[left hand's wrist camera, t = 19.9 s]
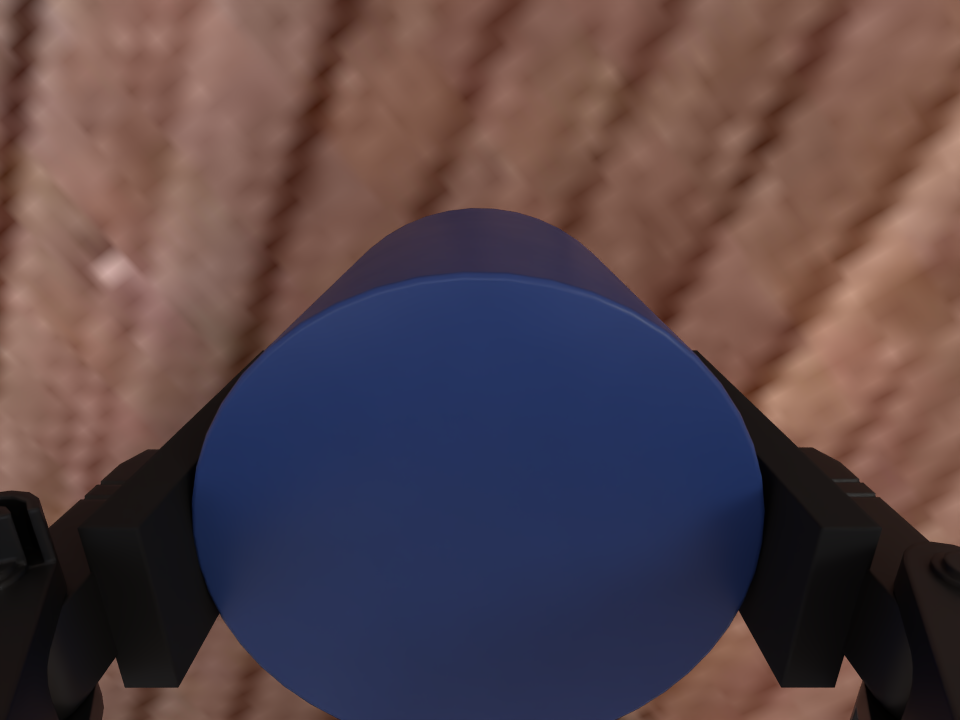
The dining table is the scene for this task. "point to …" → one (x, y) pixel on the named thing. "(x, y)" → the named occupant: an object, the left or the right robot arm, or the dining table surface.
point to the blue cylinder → (478, 487)
